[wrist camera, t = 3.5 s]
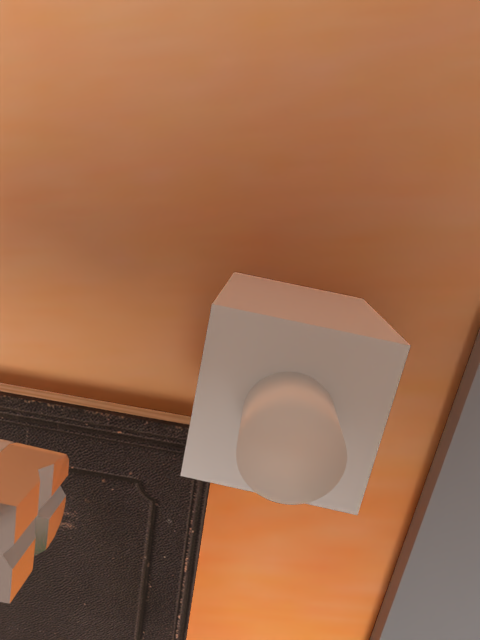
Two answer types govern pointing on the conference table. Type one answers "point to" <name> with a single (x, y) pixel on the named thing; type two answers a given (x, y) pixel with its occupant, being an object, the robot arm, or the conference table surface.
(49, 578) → the hardcover book
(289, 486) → the white cube with knob
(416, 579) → the mounting plate
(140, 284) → the conference table surface
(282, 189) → the conference table surface
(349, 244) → the conference table surface
